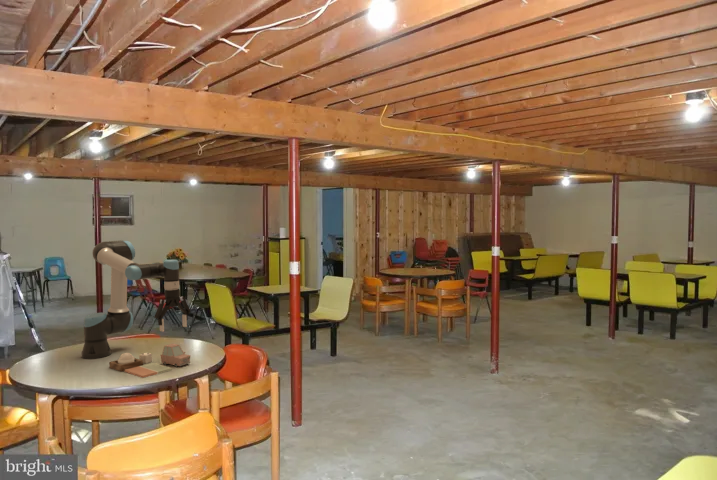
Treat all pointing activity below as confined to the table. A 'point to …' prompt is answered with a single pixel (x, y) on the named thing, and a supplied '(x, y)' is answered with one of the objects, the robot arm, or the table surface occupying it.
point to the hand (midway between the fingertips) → (173, 329)
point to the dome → (125, 358)
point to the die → (146, 357)
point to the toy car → (174, 355)
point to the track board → (148, 370)
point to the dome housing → (125, 365)
